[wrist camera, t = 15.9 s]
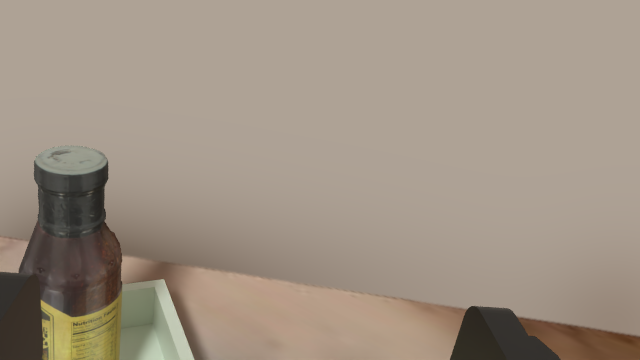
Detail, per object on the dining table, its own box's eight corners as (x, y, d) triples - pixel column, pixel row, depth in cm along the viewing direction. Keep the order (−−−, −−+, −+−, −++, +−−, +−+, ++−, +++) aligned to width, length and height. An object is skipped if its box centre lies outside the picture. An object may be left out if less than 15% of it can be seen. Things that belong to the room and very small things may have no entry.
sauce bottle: (25, 379, 42) (9, 134, 34) (112, 361, 45) (115, 133, 37) (28, 448, 37) (10, 180, 29) (126, 423, 40) (134, 174, 32)
